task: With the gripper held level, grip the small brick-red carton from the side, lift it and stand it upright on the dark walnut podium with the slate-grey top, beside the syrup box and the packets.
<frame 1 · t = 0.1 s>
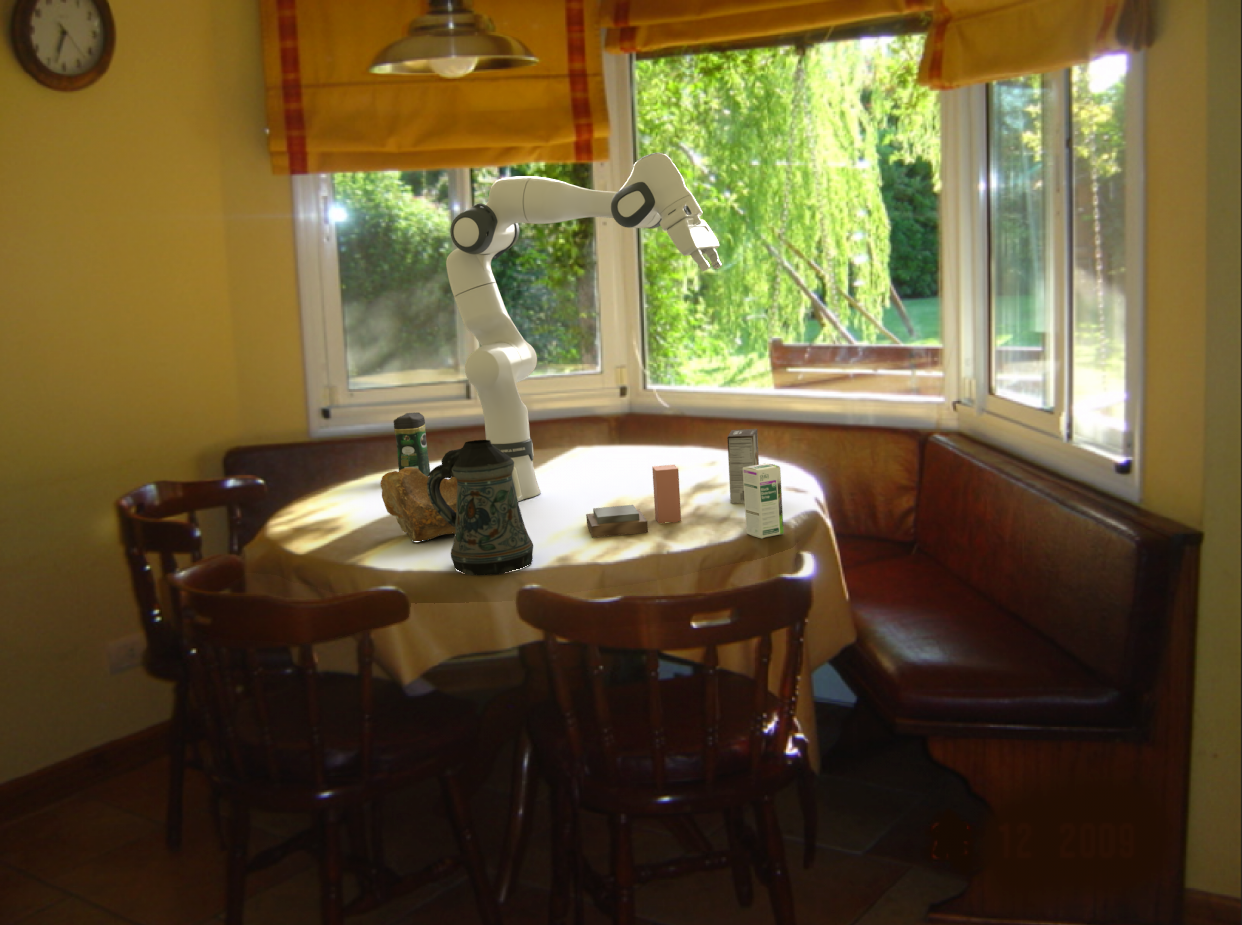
hand: (712, 268, 272), 54 cm above the table, tool tilted 30°, fingers open, 8 cm apart
coffee box: (745, 499, 282), on the table
coffee jar: (414, 479, 333), on the table
rough brown rock: (434, 537, 264), on the table
carton: (668, 520, 266), on the table
podium: (616, 528, 261), on the table
syrup box: (764, 535, 248), on the table
beer stein: (486, 566, 237), on the table
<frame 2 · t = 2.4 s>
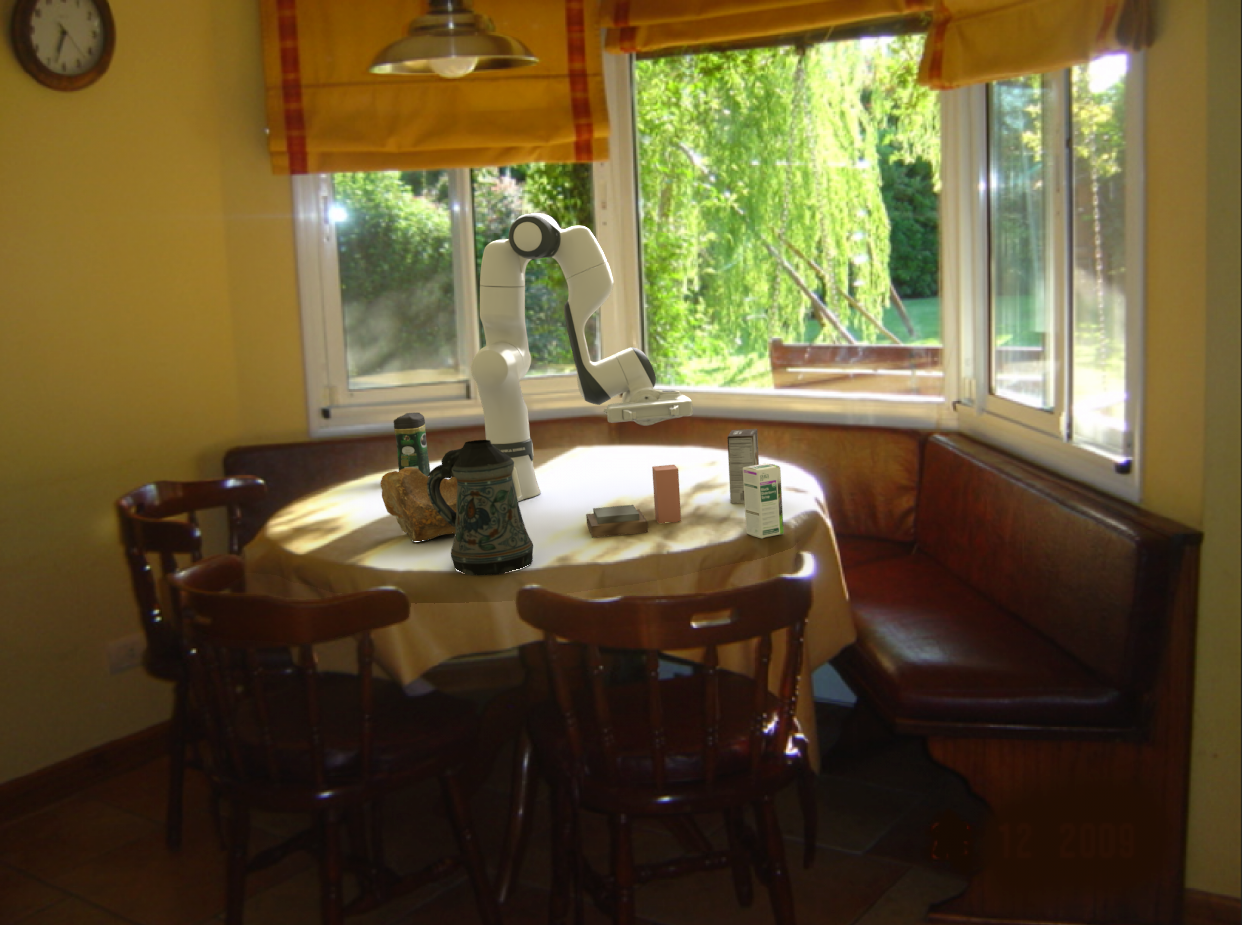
hand: (653, 414, 273), 22 cm above the table, tool horizontal, fingers open, 8 cm apart
nothing on the table moved.
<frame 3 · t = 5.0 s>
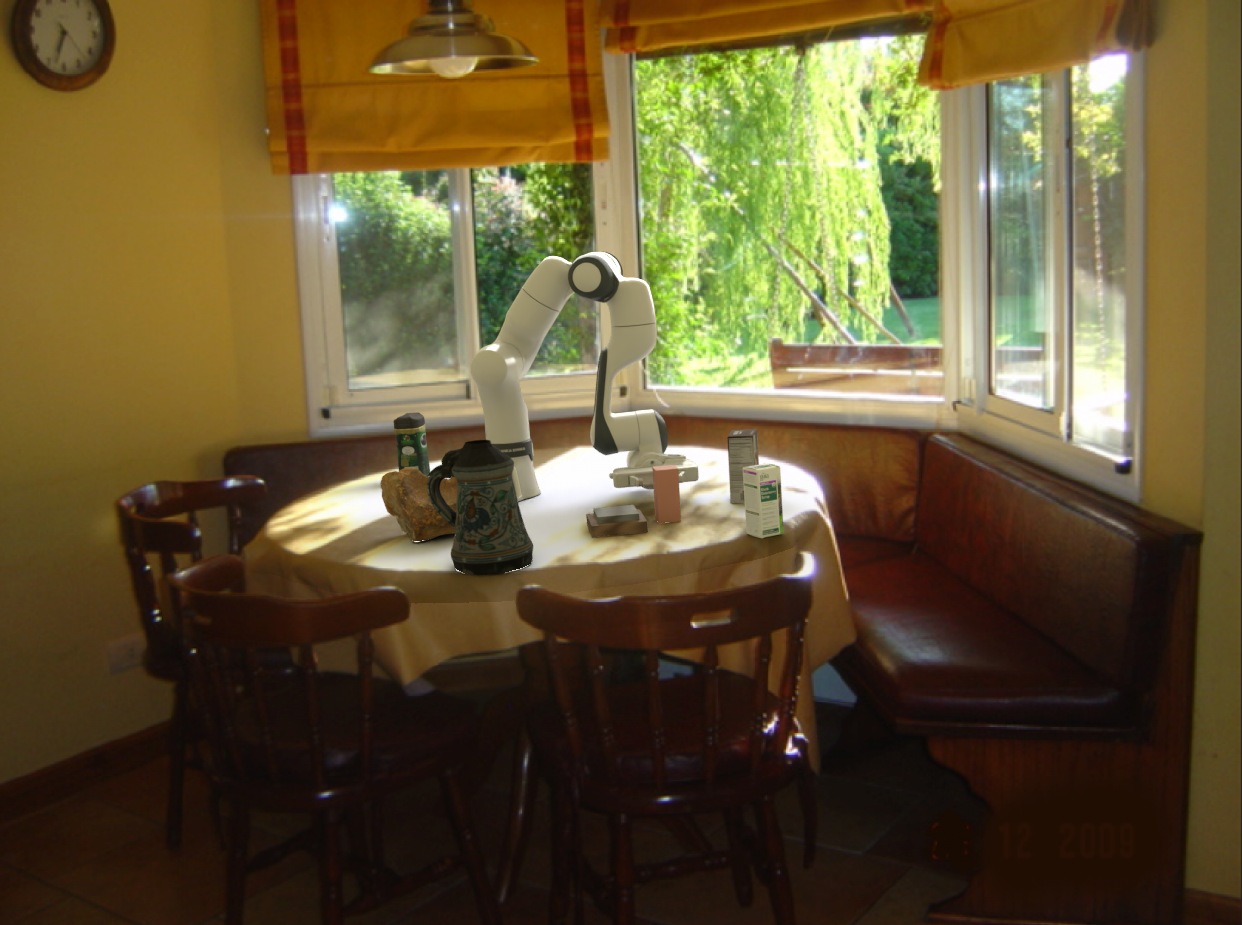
hand: (660, 481, 273), 7 cm above the table, tool horizontal, fingers open, 8 cm apart
nothing on the table moved.
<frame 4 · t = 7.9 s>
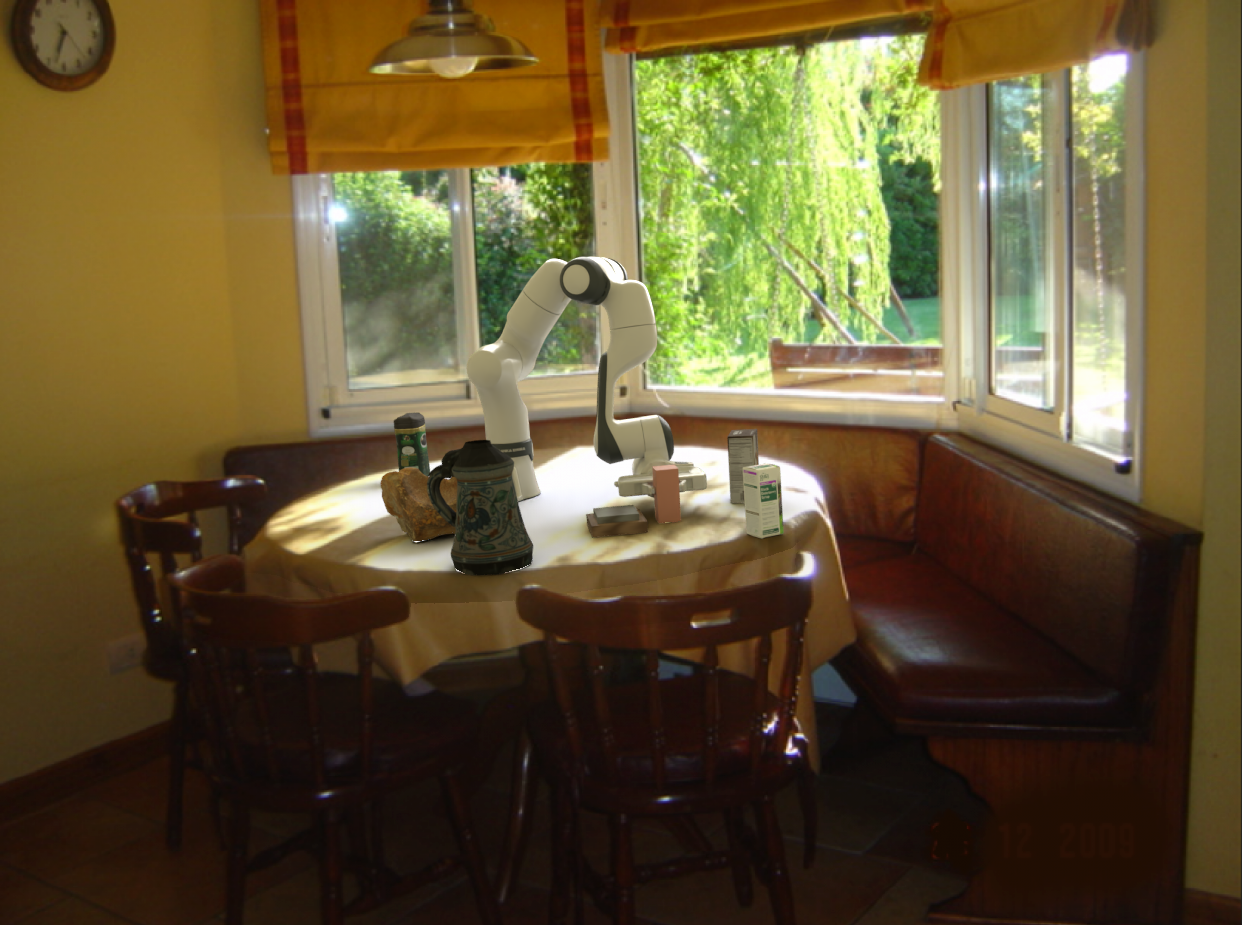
hand: (667, 490, 263), 7 cm above the table, tool horizontal, fingers closed on carton, 5 cm apart
carton: (668, 520, 266), on the table, touching gripper
everything else where it was.
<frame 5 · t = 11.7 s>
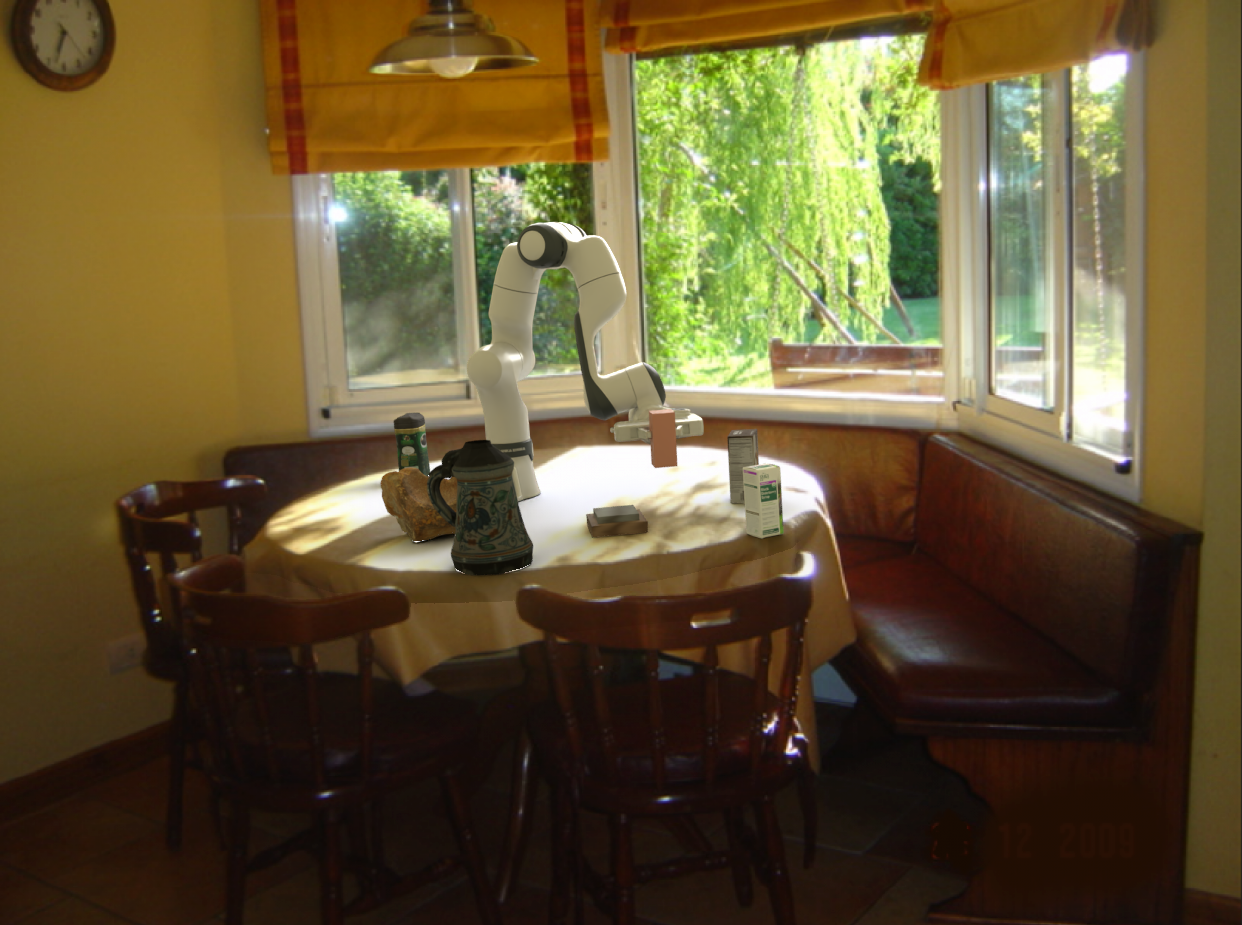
hand: (663, 434, 261), 20 cm above the table, tool horizontal, fingers closed on carton, 5 cm apart
carton: (664, 465, 263), point 13 cm above the table, touching gripper
everything else where it was.
when the fingers open (12 cm above the table, at t = 15.6 s): carton drops 1 cm, resting on podium.
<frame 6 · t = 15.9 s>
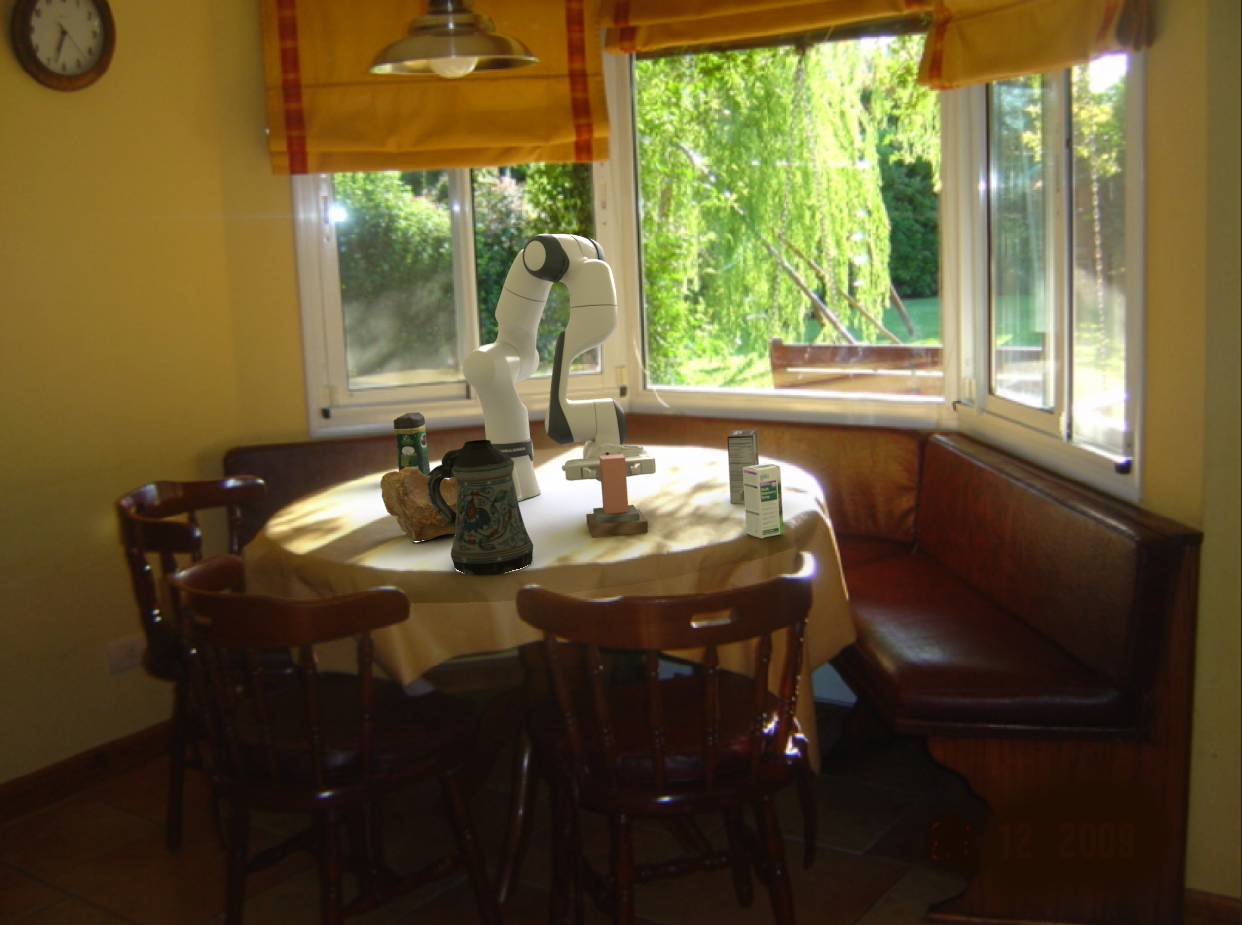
hand: (613, 473, 258), 12 cm above the table, tool horizontal, fingers open, 8 cm apart
carton: (615, 510, 260), point 4 cm above the table, touching podium
everything else where it was.
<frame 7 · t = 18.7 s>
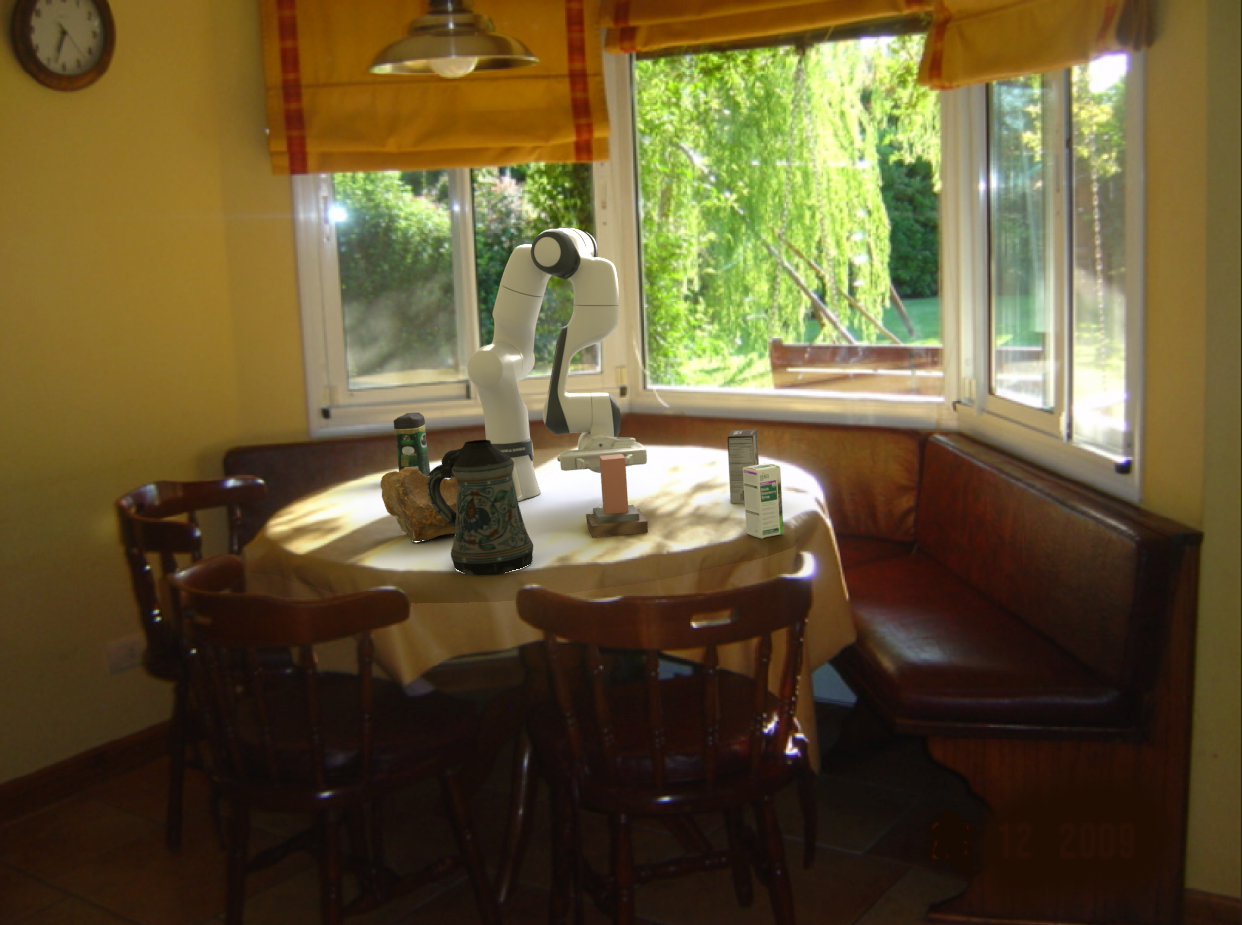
hand: (606, 463, 269), 12 cm above the table, tool horizontal, fingers open, 8 cm apart
nothing on the table moved.
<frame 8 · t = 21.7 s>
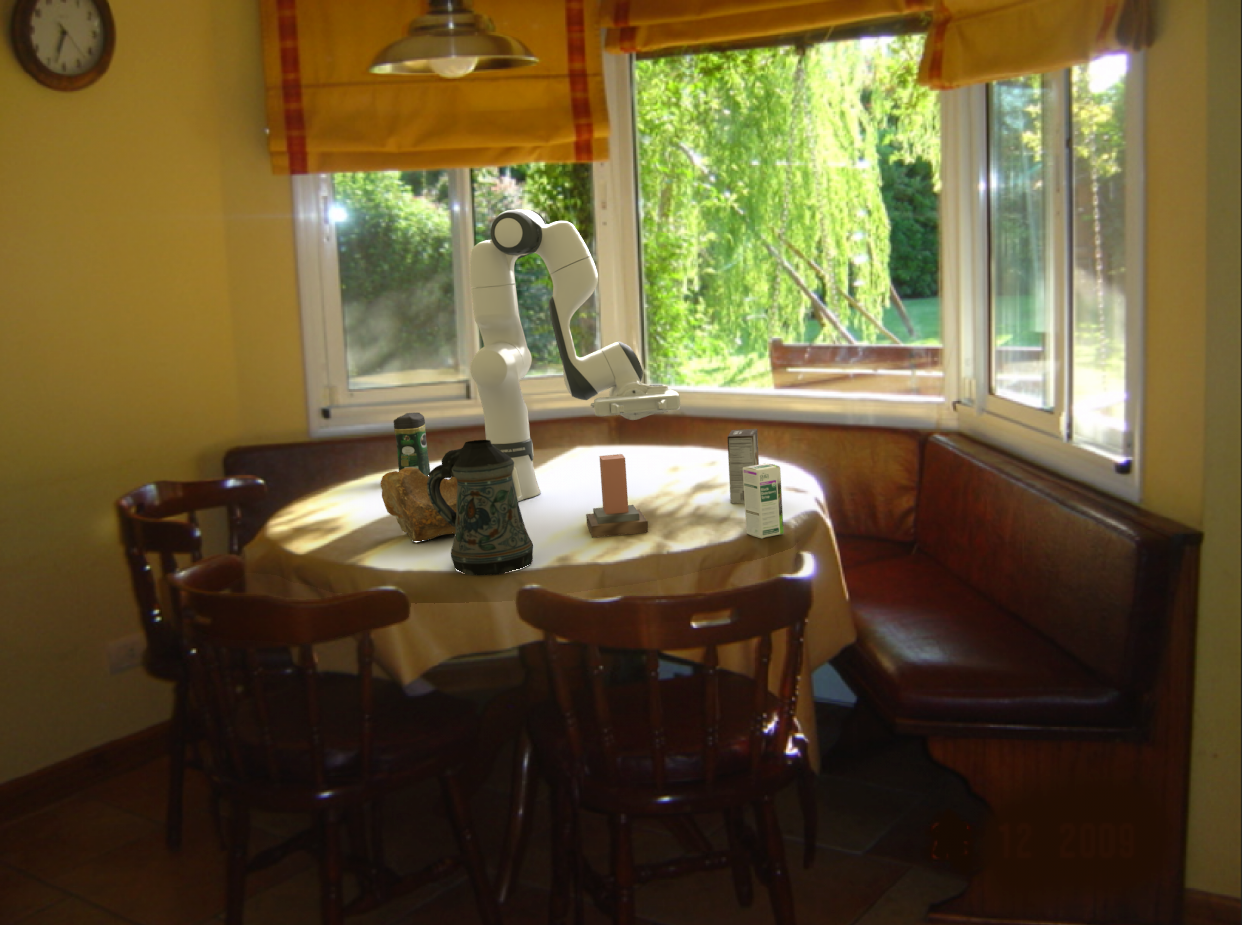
hand: (641, 408, 272), 24 cm above the table, tool horizontal, fingers open, 8 cm apart
nothing on the table moved.
at the end: carton inside the target area on the podium (0.0 cm from its centre), point 4.0 cm above the podium's base; carton tilted 0°; the gripper is holding nothing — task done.
